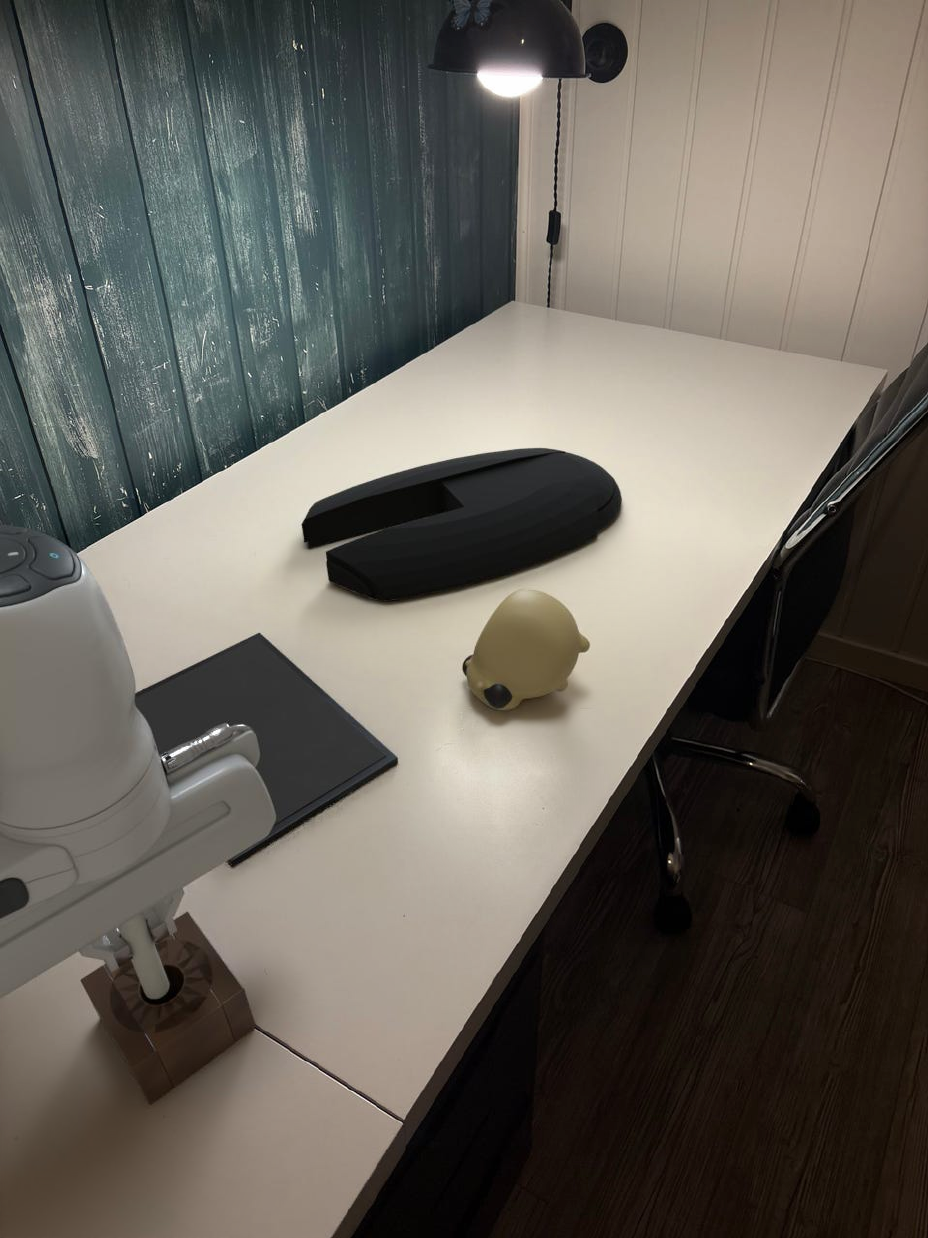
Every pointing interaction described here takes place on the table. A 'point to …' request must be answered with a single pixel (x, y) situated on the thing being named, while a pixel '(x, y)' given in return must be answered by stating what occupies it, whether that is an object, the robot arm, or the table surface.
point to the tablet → (269, 728)
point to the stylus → (145, 957)
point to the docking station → (461, 520)
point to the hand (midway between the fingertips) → (139, 945)
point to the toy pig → (524, 650)
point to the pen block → (172, 1011)
